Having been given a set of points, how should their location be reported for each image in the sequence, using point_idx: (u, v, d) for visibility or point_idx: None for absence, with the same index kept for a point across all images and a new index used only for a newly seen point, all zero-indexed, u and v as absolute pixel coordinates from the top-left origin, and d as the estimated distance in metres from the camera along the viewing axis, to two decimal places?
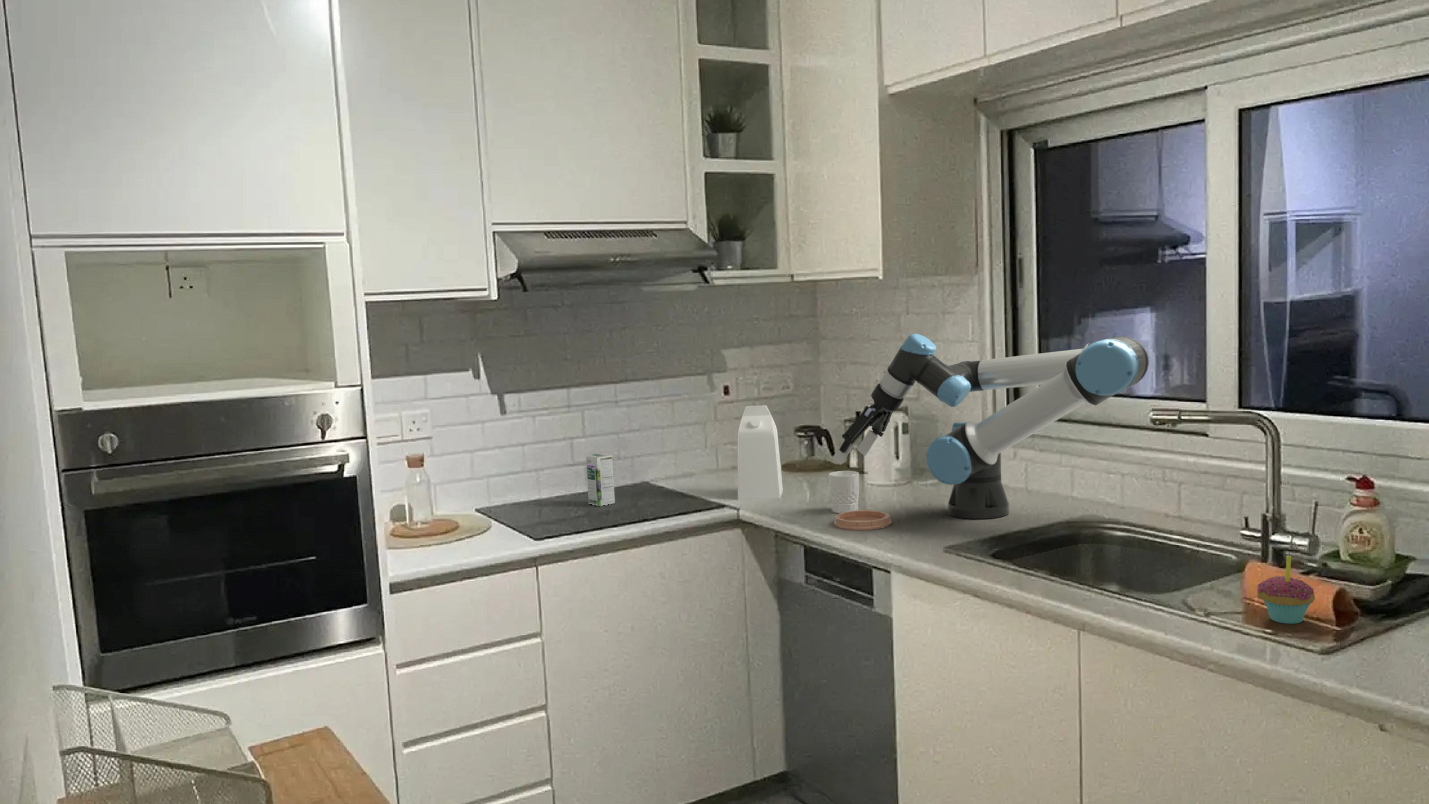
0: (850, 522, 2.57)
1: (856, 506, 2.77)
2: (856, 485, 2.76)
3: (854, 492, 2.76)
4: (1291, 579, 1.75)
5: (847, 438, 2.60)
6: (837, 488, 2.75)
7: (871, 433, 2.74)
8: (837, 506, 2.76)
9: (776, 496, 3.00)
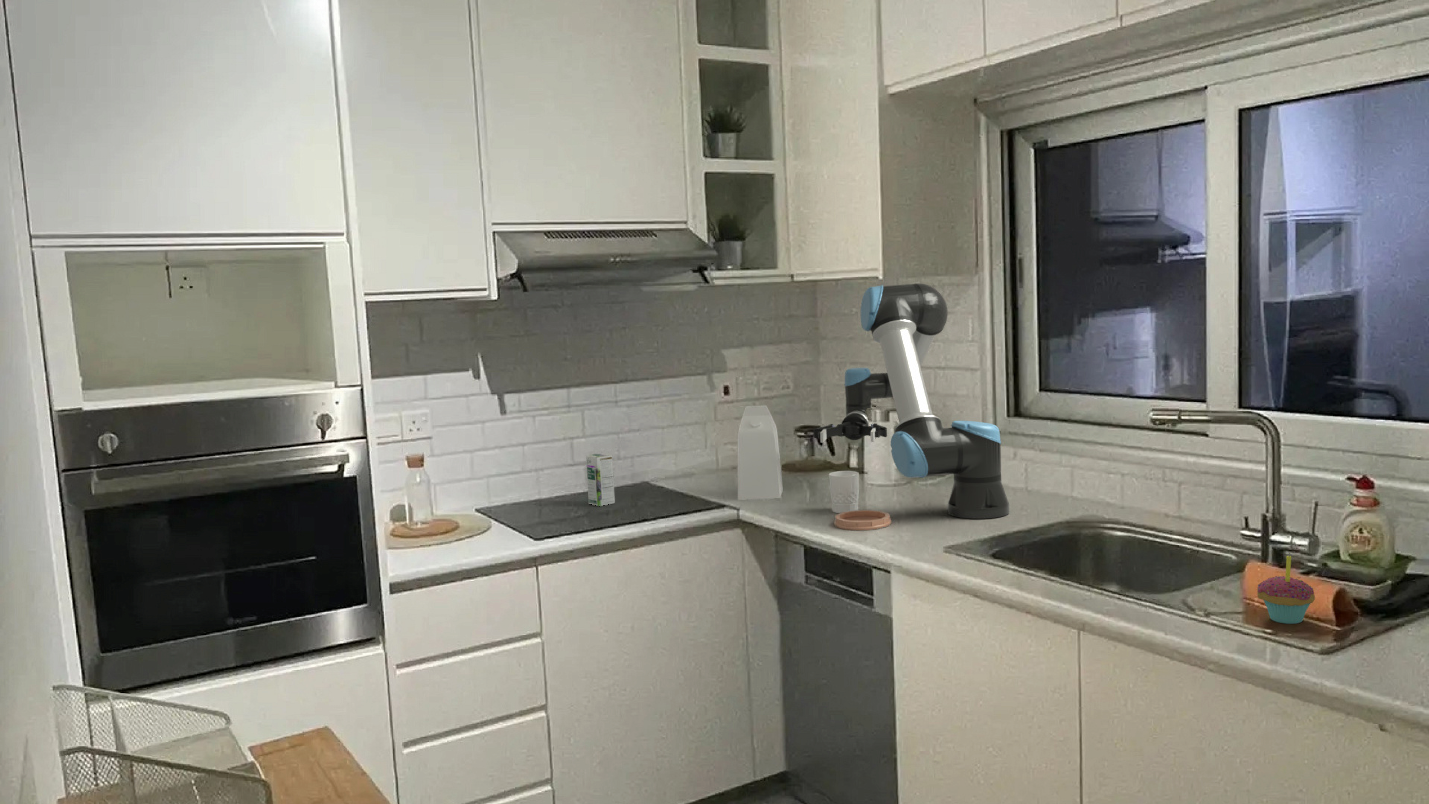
0: (850, 522, 2.57)
1: (856, 506, 2.77)
2: (856, 485, 2.76)
3: (854, 492, 2.76)
4: (1291, 579, 1.75)
5: None
6: (837, 488, 2.75)
7: None
8: (837, 506, 2.76)
9: (776, 496, 3.00)
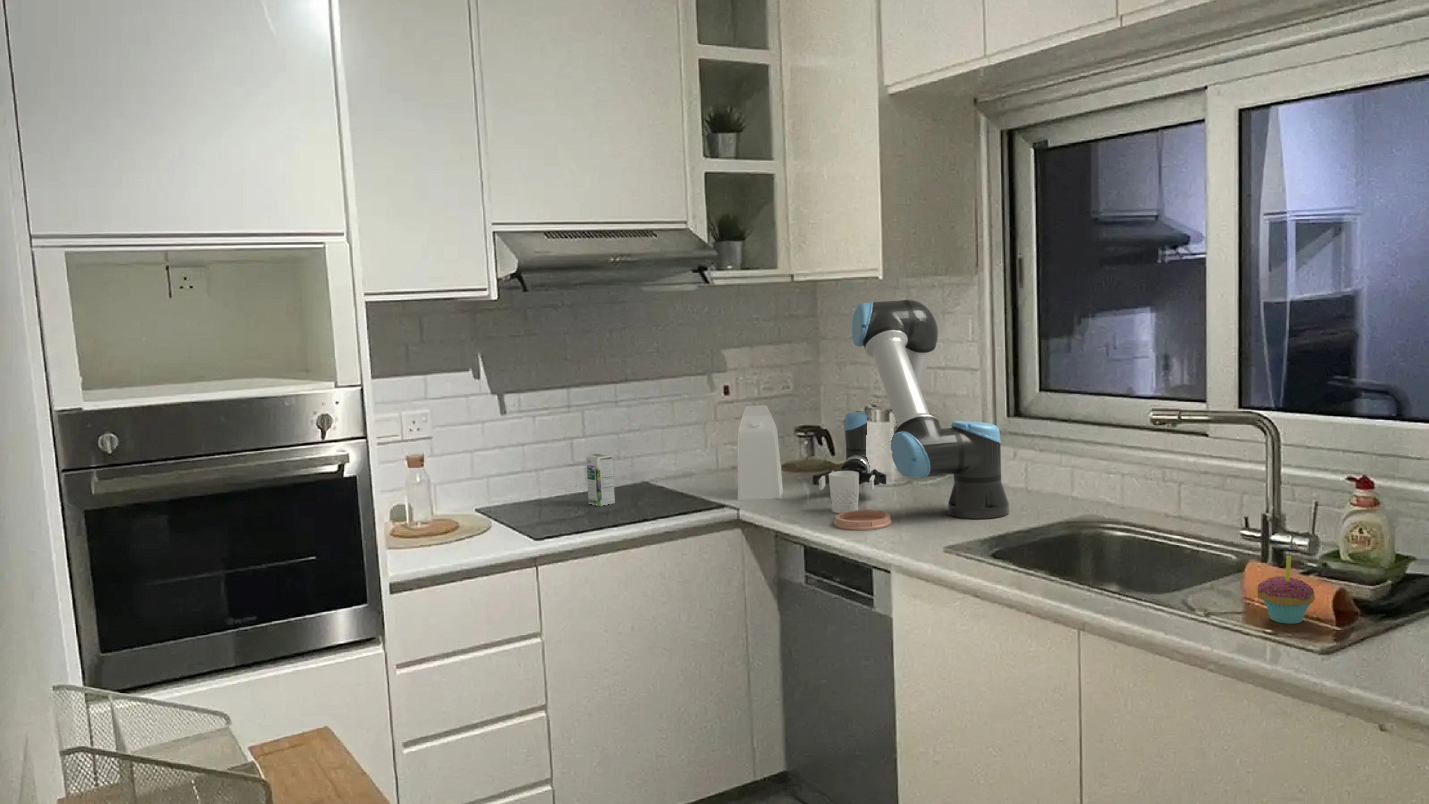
0: (850, 522, 2.57)
1: (856, 506, 2.77)
2: (856, 485, 2.76)
3: (854, 492, 2.76)
4: (1291, 579, 1.75)
5: None
6: (837, 488, 2.75)
7: None
8: (837, 506, 2.76)
9: (776, 496, 3.00)
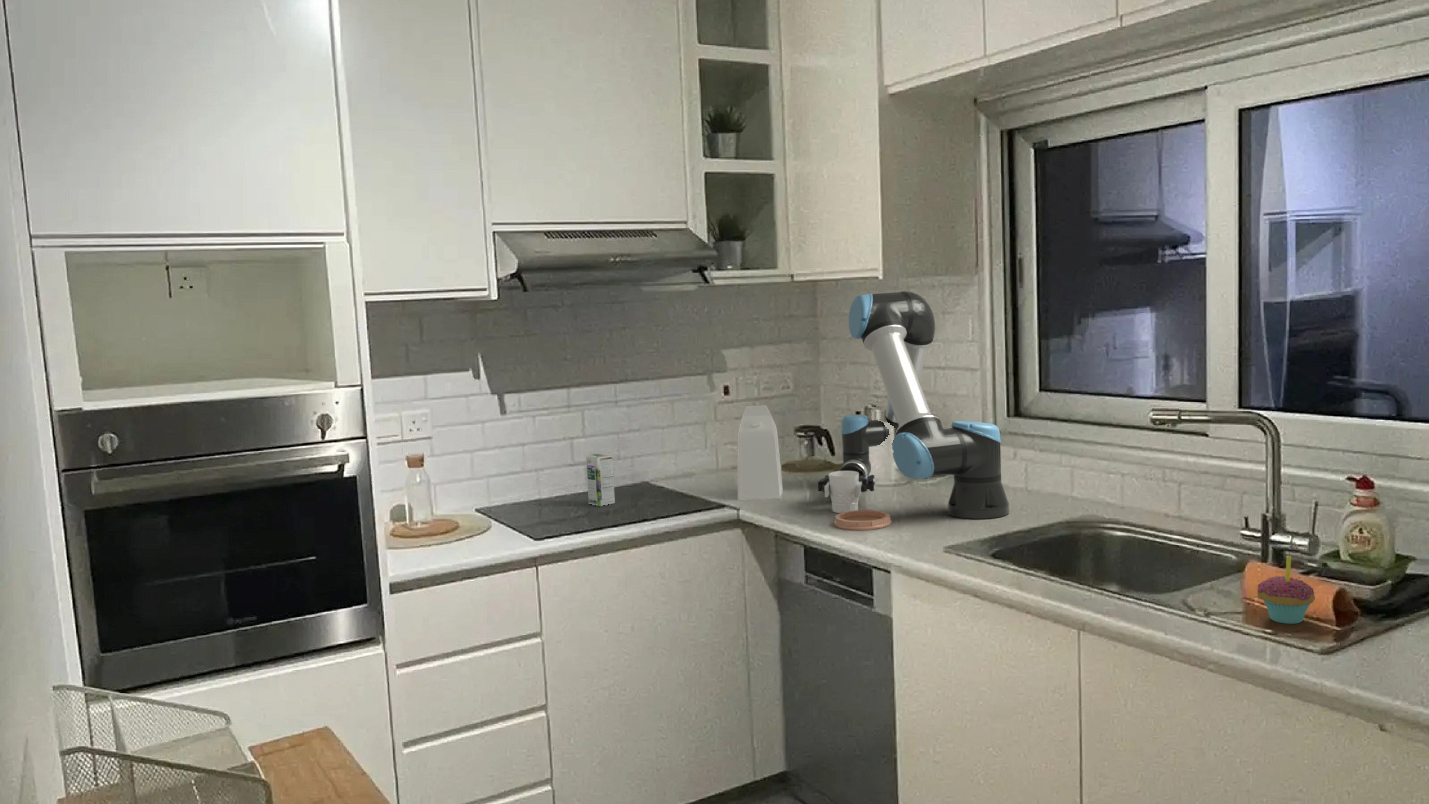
0: (850, 522, 2.57)
1: (856, 506, 2.77)
2: (856, 485, 2.76)
3: (854, 492, 2.76)
4: (1291, 579, 1.75)
5: None
6: (837, 488, 2.75)
7: None
8: (837, 506, 2.76)
9: (776, 496, 3.00)
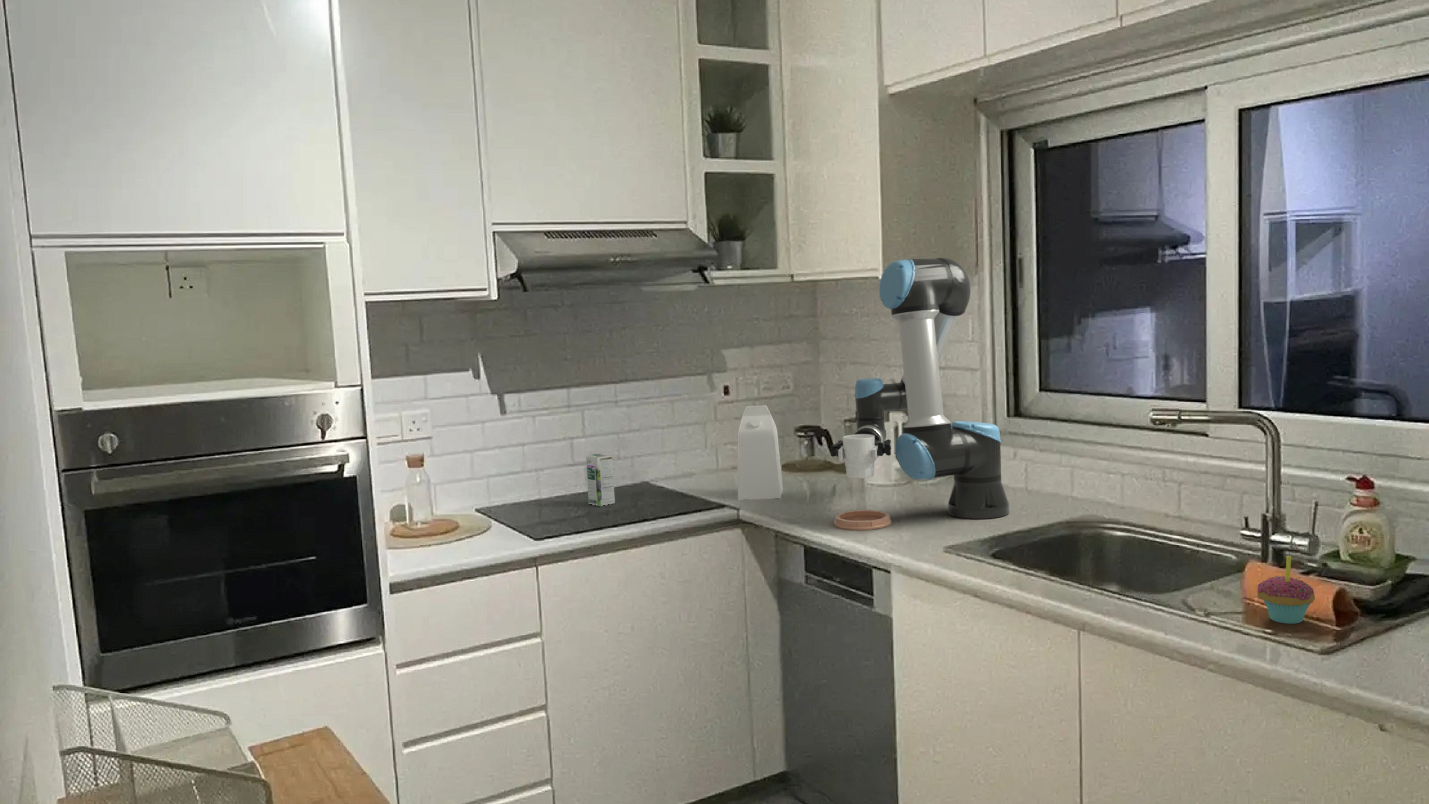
0: (850, 522, 2.57)
1: (871, 471, 2.60)
2: (872, 448, 2.59)
3: (870, 456, 2.59)
4: (1291, 579, 1.75)
5: None
6: (851, 452, 2.58)
7: None
8: (852, 471, 2.59)
9: (776, 496, 3.00)
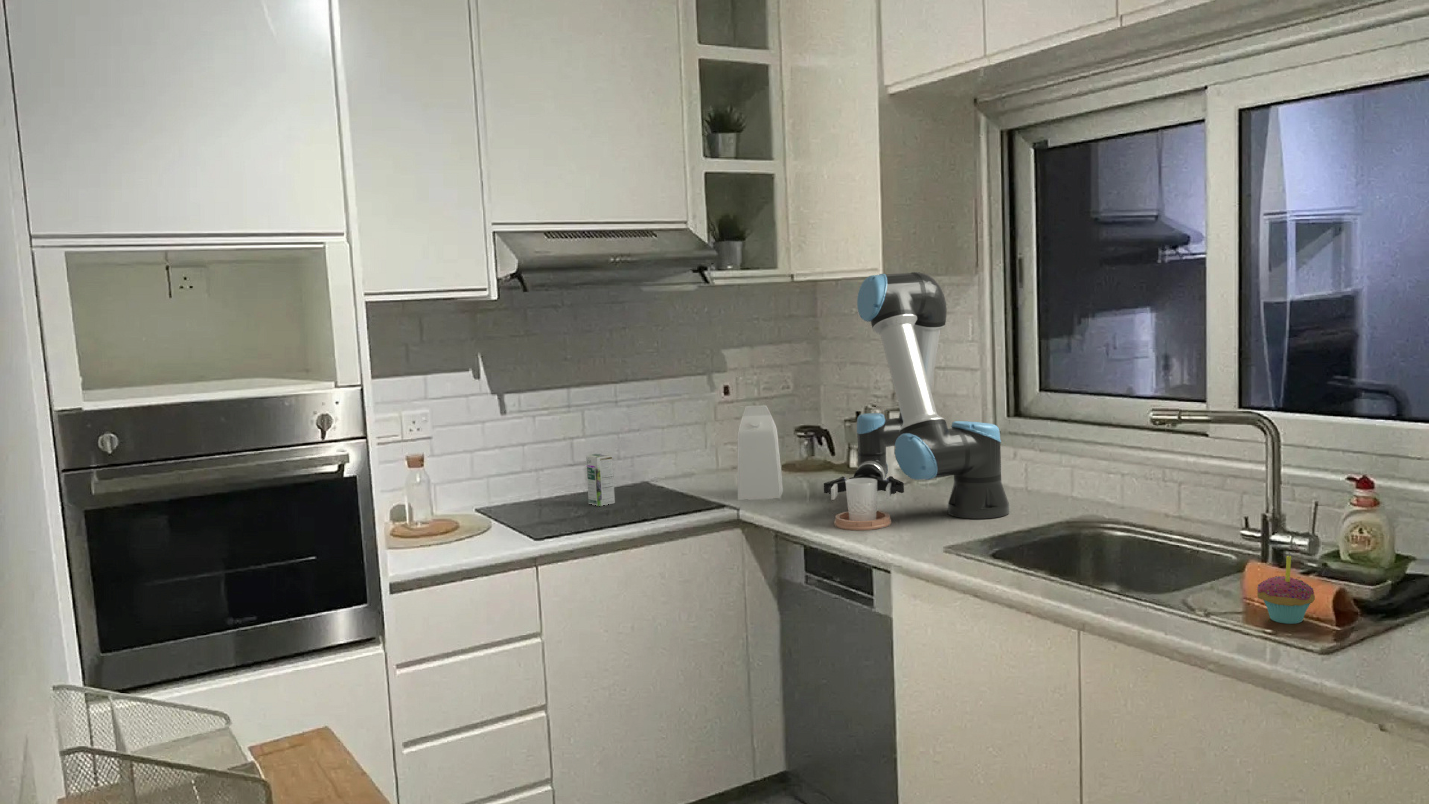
0: (850, 522, 2.57)
1: (874, 516, 2.61)
2: (875, 493, 2.60)
3: (873, 501, 2.60)
4: (1291, 579, 1.75)
5: None
6: (854, 497, 2.59)
7: None
8: (854, 515, 2.60)
9: (776, 496, 3.00)
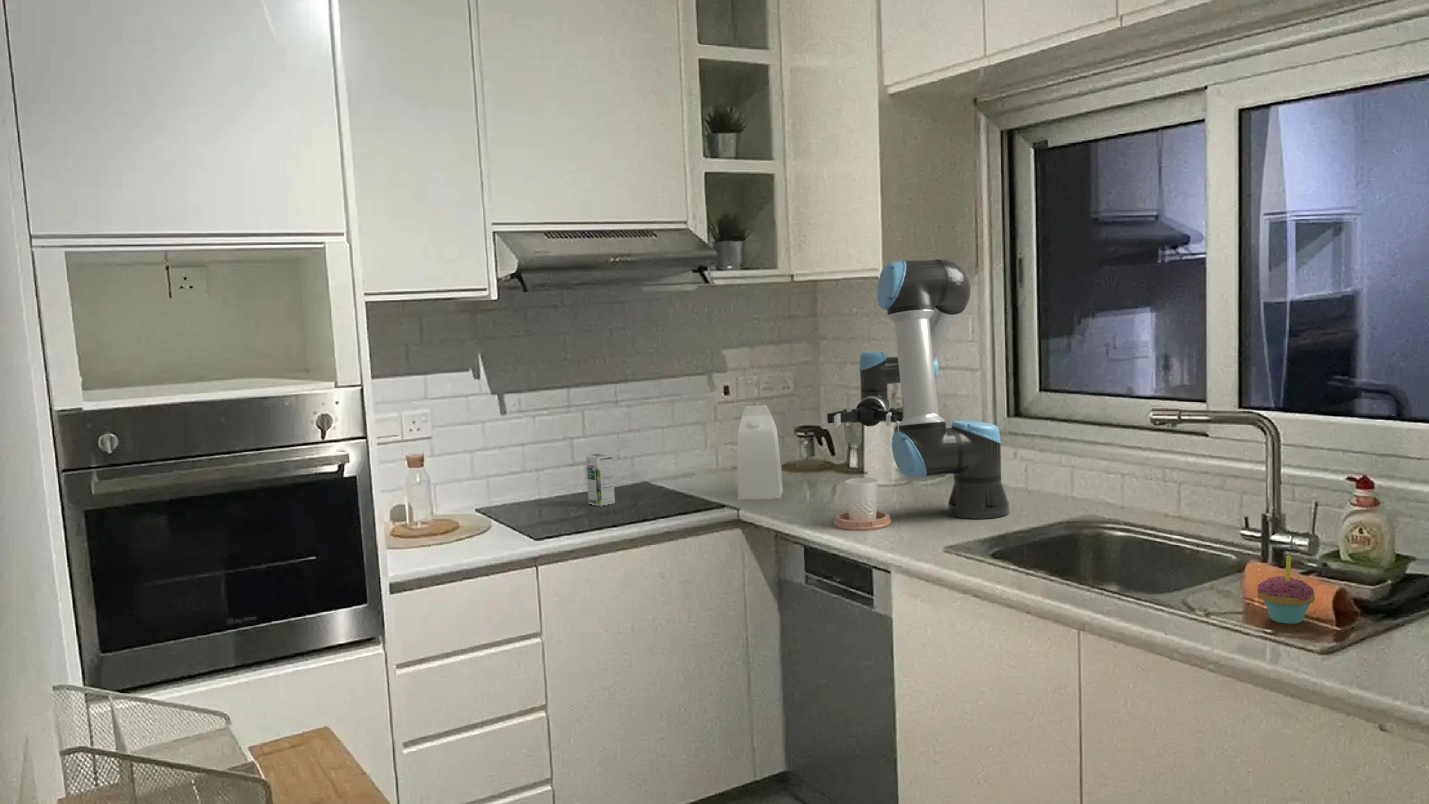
0: (850, 522, 2.57)
1: (874, 516, 2.61)
2: (875, 493, 2.60)
3: (872, 501, 2.60)
4: (1291, 579, 1.75)
5: None
6: (854, 497, 2.59)
7: None
8: (854, 515, 2.60)
9: (776, 496, 3.00)
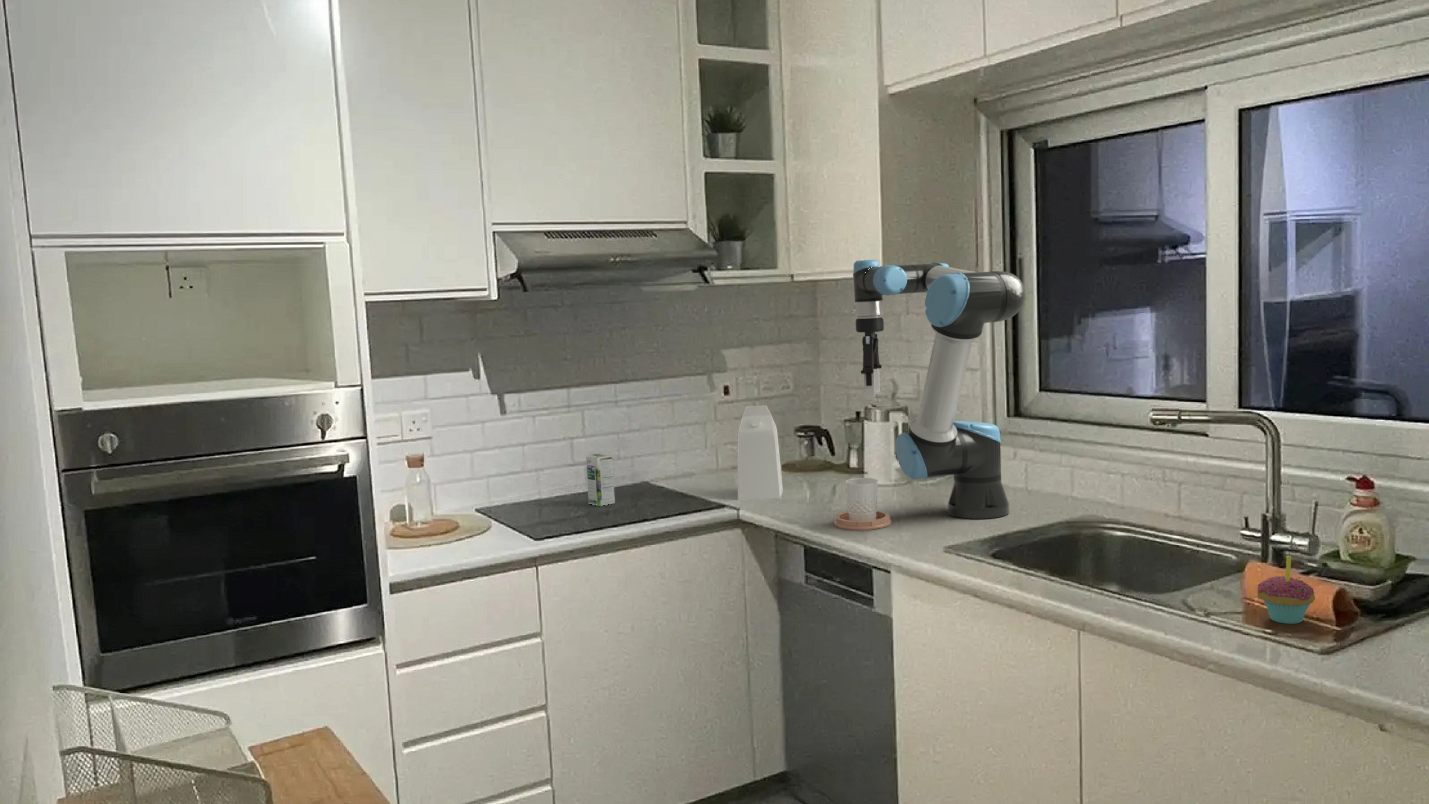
0: (850, 522, 2.57)
1: (874, 516, 2.61)
2: (875, 493, 2.60)
3: (872, 501, 2.60)
4: (1291, 579, 1.75)
5: (868, 368, 2.79)
6: (854, 497, 2.59)
7: (872, 370, 2.95)
8: (854, 515, 2.60)
9: (776, 496, 3.00)
